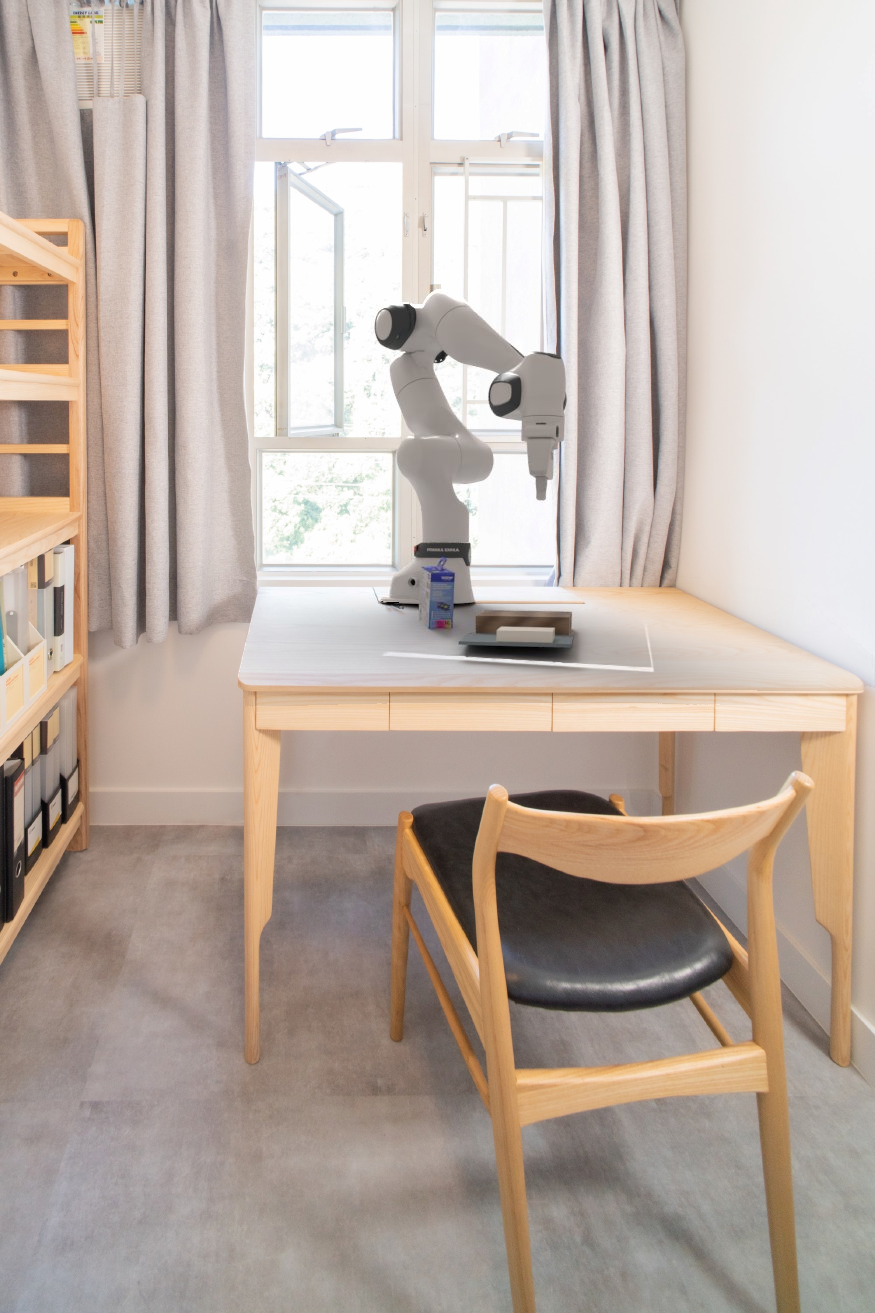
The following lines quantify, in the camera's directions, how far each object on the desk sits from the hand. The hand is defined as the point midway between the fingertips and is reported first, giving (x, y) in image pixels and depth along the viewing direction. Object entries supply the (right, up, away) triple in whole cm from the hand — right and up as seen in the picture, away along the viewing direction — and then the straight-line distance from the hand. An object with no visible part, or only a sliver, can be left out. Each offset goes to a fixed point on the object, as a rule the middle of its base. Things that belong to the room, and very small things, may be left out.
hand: (541, 500), depth 197 cm
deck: (-4, -28, -8) cm, 29 cm away
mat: (-7, -30, -22) cm, 38 cm away
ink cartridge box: (-22, -27, 0) cm, 35 cm away
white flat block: (-5, -28, -25) cm, 38 cm away
